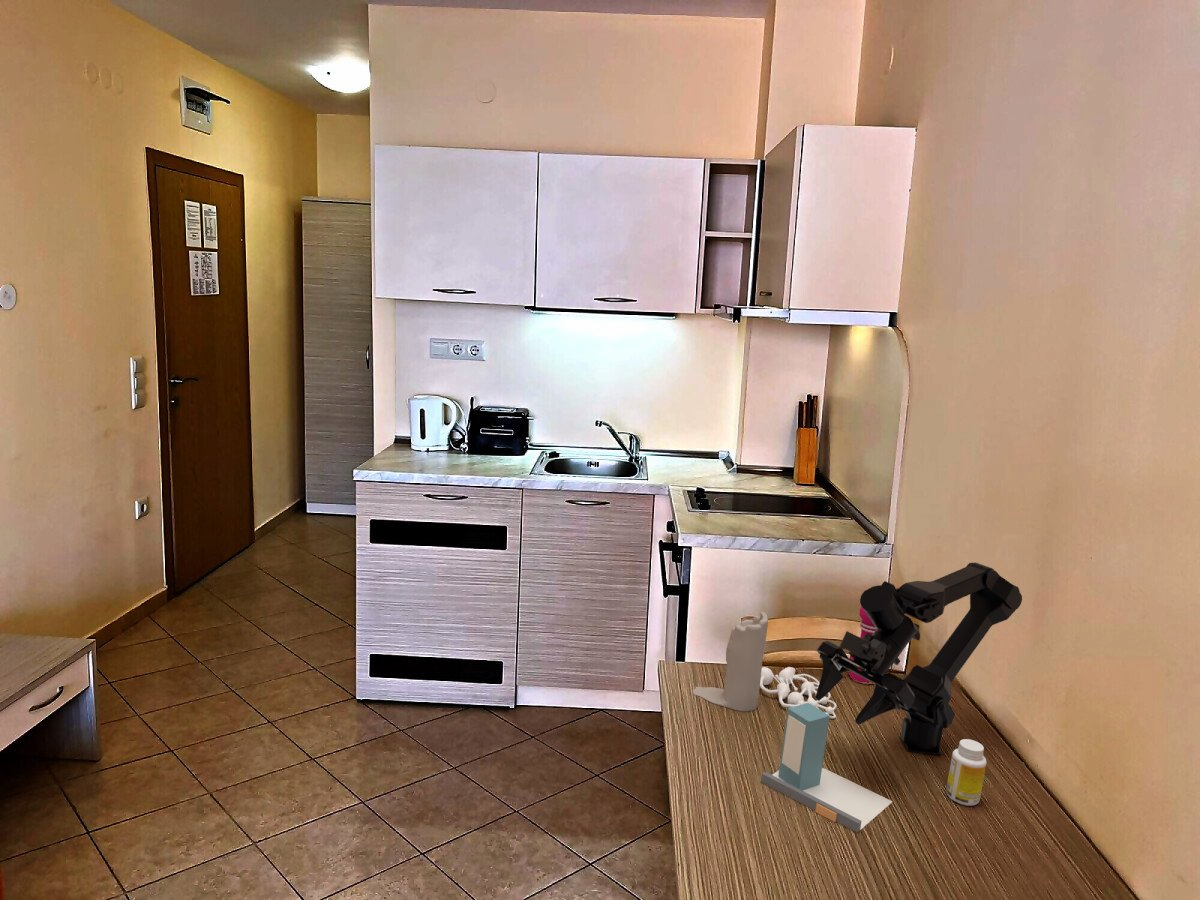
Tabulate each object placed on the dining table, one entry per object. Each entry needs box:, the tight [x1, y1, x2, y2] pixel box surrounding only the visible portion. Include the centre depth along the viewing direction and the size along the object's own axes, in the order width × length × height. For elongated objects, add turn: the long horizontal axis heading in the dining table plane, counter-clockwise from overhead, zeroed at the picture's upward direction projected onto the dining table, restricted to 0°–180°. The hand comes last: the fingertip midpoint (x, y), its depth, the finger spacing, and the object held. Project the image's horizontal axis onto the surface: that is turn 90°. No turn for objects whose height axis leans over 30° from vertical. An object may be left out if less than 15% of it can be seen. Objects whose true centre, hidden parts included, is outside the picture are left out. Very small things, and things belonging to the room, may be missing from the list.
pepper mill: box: [848, 605, 877, 683], centre depth 195 cm, size 7×7×20 cm
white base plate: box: [760, 767, 893, 833], centre depth 148 cm, size 13×18×3 cm
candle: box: [692, 611, 769, 712], centre depth 180 cm, size 7×14×20 cm, turn 65°
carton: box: [778, 703, 831, 791], centre depth 150 cm, size 5×5×13 cm
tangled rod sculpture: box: [759, 666, 837, 719], centre depth 184 cm, size 19×14×4 cm
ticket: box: [814, 803, 837, 823], centre depth 141 cm, size 1×4×2 cm, turn 46°
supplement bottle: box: [945, 738, 987, 807], centre depth 152 cm, size 6×6×10 cm
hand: (836, 710), depth 153 cm, fingers open, 9 cm apart
